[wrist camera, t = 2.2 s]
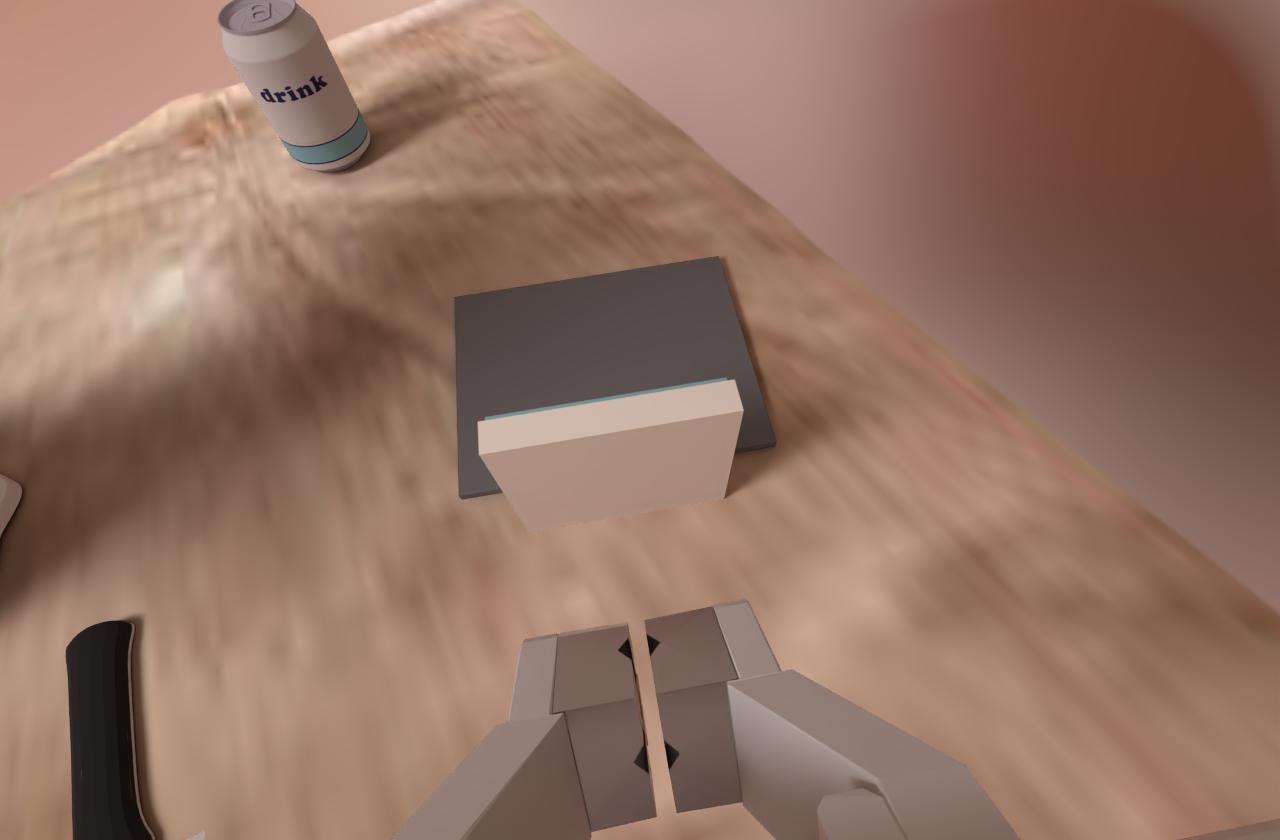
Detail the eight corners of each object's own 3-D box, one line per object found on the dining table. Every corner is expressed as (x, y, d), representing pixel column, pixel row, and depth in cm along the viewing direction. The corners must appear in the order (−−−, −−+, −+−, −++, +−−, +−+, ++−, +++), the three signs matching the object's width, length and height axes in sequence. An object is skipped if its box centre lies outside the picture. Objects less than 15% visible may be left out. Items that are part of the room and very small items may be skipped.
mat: (775, 446, 38) (776, 441, 38) (461, 499, 37) (458, 495, 37) (717, 261, 46) (718, 256, 45) (457, 302, 45) (454, 297, 44)
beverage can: (303, 189, 52) (210, 47, 41) (293, 142, 55) (205, -1, 45) (381, 166, 53) (310, 21, 42) (368, 121, 56) (298, -24, 46)
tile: (724, 499, 37) (743, 410, 27) (529, 533, 36) (479, 454, 27) (716, 469, 38) (733, 374, 28) (526, 502, 37) (477, 416, 27)
